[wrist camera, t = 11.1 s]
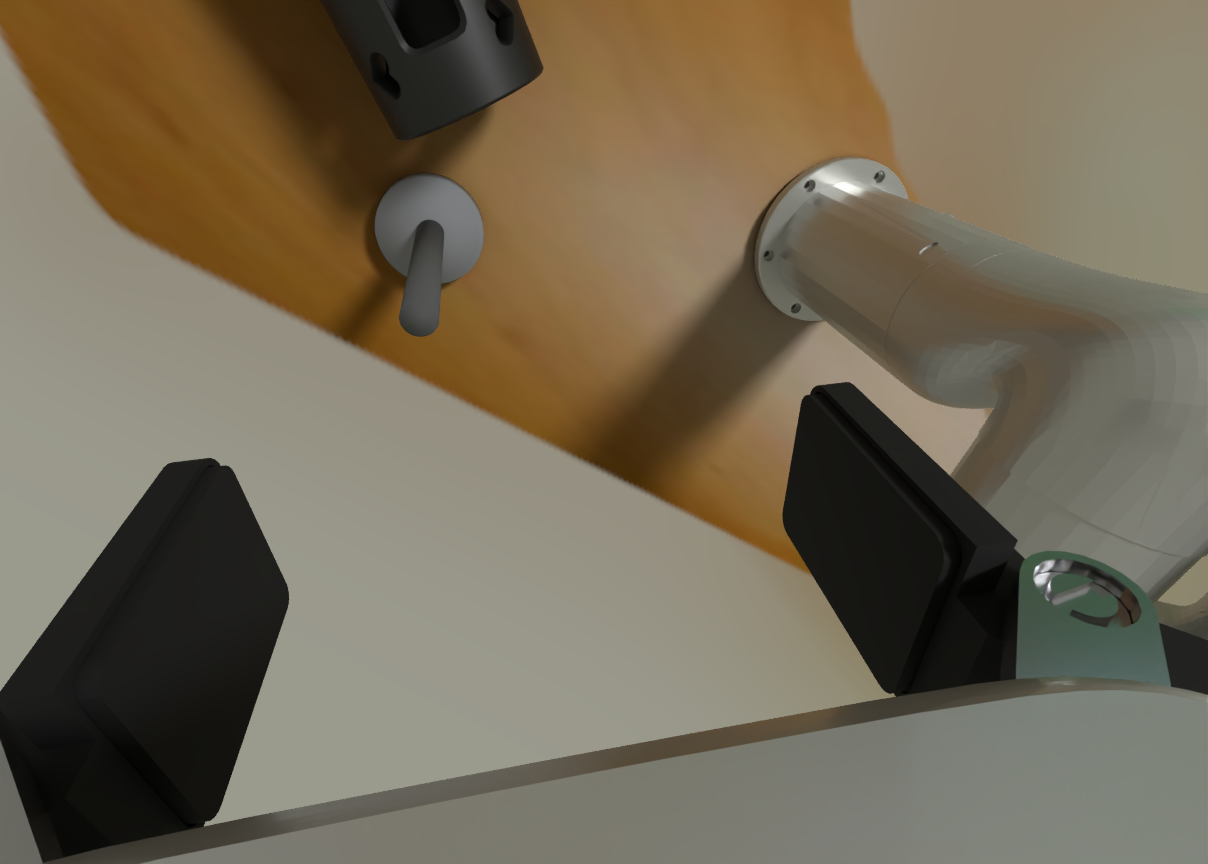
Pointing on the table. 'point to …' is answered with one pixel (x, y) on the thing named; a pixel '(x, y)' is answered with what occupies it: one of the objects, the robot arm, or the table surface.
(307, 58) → the table surface
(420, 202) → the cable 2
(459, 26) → the muzzle brake
